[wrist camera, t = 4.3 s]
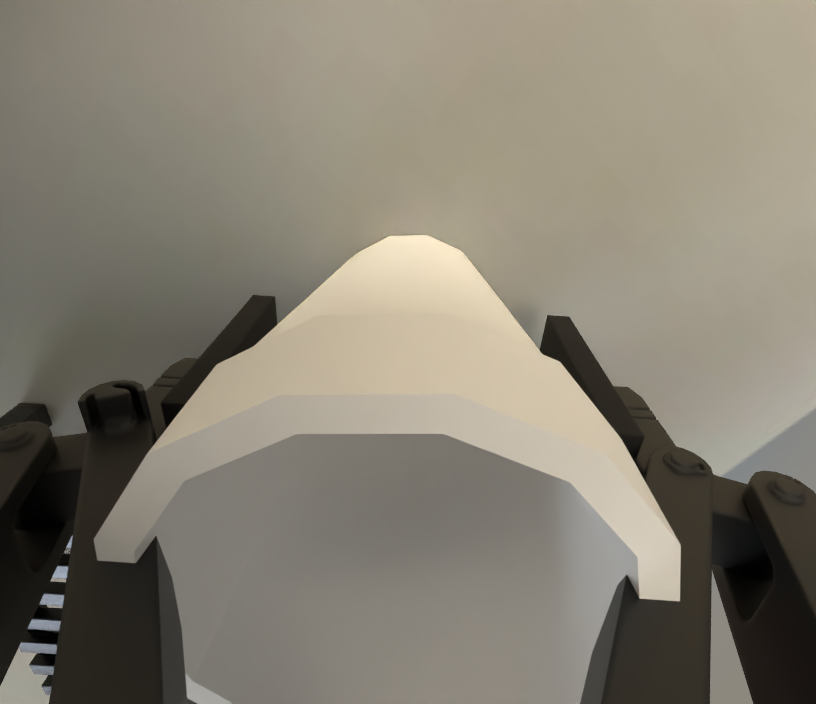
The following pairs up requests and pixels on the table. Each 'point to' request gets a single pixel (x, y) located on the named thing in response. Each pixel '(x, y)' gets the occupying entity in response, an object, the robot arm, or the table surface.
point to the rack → (47, 620)
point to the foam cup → (393, 503)
